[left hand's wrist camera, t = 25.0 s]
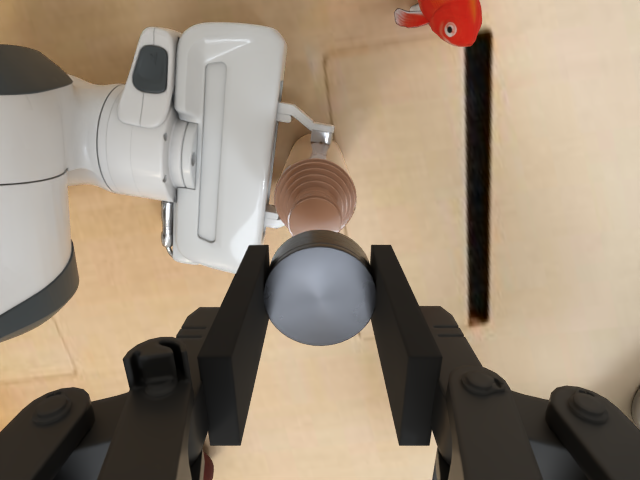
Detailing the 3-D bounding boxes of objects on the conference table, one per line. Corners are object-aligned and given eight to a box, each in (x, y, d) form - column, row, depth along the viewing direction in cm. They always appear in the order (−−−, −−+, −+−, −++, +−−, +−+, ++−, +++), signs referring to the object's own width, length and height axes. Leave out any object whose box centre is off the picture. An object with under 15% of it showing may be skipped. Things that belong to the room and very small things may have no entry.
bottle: (280, 147, 37) (246, 201, 19) (328, 123, 36) (339, 155, 19) (304, 194, 39) (293, 282, 21) (350, 171, 38) (380, 244, 20)
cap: (272, 320, 15) (266, 346, 14) (265, 229, 14) (258, 247, 12) (369, 319, 15) (375, 345, 14) (373, 228, 14) (379, 245, 12)
